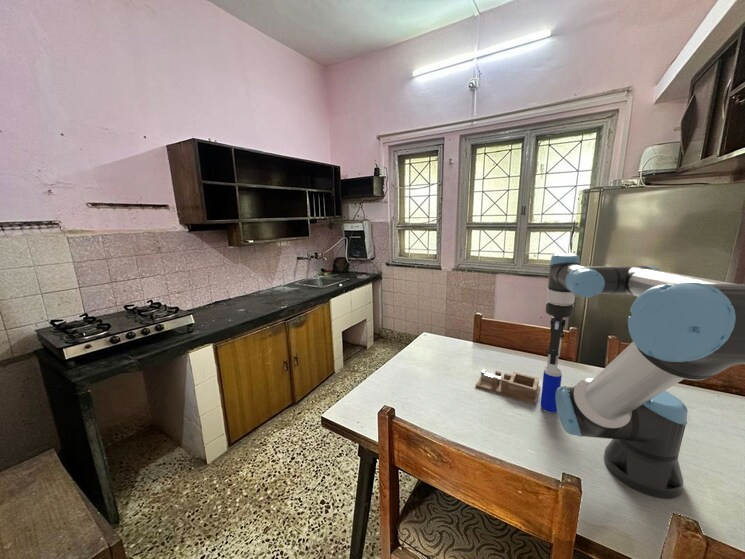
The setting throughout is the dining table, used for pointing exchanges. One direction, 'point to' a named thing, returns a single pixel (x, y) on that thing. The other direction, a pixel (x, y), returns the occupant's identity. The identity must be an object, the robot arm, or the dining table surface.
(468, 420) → the dining table surface
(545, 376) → the beverage can
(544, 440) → the dining table surface
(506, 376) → the mount
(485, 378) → the lock pin
